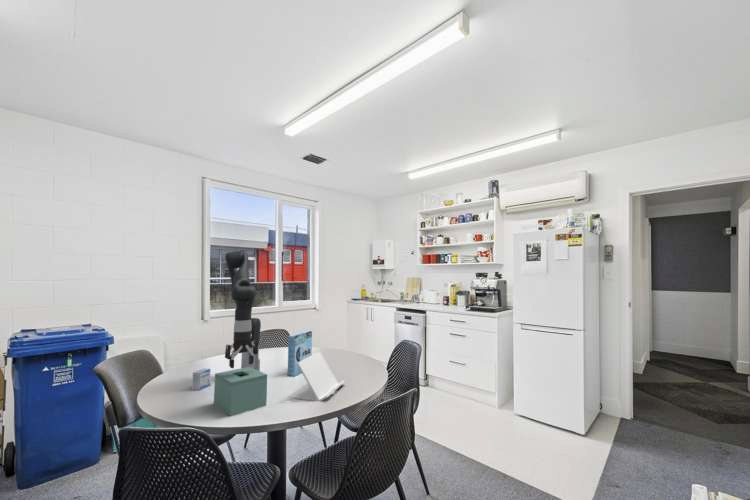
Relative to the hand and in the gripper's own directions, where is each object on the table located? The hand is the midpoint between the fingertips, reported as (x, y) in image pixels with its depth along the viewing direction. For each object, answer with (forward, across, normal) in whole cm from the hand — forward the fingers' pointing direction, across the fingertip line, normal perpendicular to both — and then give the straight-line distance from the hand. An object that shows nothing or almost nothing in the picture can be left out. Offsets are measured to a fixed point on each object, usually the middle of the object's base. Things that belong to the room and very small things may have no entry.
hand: (241, 366), depth 151 cm
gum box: (+17, -48, -25) cm, 57 cm away
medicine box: (+17, +4, -37) cm, 41 cm away
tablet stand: (+18, -36, +11) cm, 42 cm away
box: (+17, 0, 0) cm, 17 cm away
